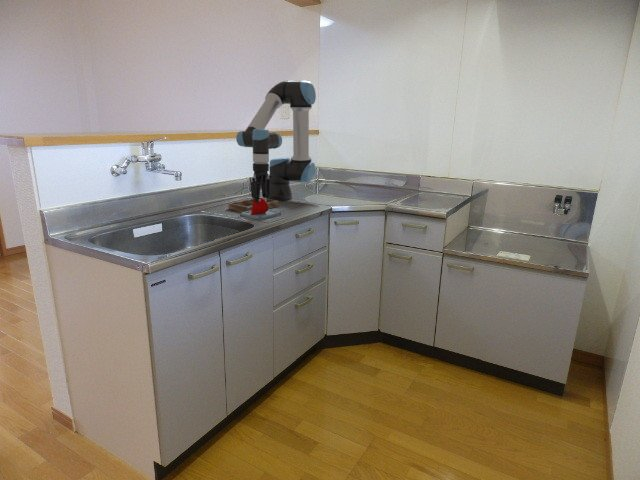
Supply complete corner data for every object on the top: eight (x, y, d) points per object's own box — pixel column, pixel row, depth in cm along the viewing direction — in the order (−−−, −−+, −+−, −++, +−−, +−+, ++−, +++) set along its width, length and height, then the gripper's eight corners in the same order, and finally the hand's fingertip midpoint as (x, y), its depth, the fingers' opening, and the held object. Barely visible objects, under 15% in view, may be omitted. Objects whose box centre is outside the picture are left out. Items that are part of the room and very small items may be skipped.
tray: (261, 210, 214) (261, 207, 213) (281, 214, 207) (281, 211, 206) (240, 215, 202) (240, 212, 202) (260, 220, 195) (260, 217, 195)
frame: (259, 202, 233) (259, 197, 232) (278, 206, 225) (278, 200, 224) (228, 209, 215) (228, 203, 214) (248, 213, 207) (248, 207, 206)
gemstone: (260, 214, 194) (271, 203, 200) (245, 204, 194) (256, 193, 201) (256, 226, 200) (267, 215, 207) (241, 216, 200) (252, 205, 207)
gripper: (266, 160, 206) (266, 207, 212) (242, 163, 193) (243, 213, 199) (278, 162, 202) (277, 209, 208) (254, 164, 189) (255, 215, 195)
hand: (261, 211), depth 204 cm, fingers closed on gemstone, 3 cm apart
